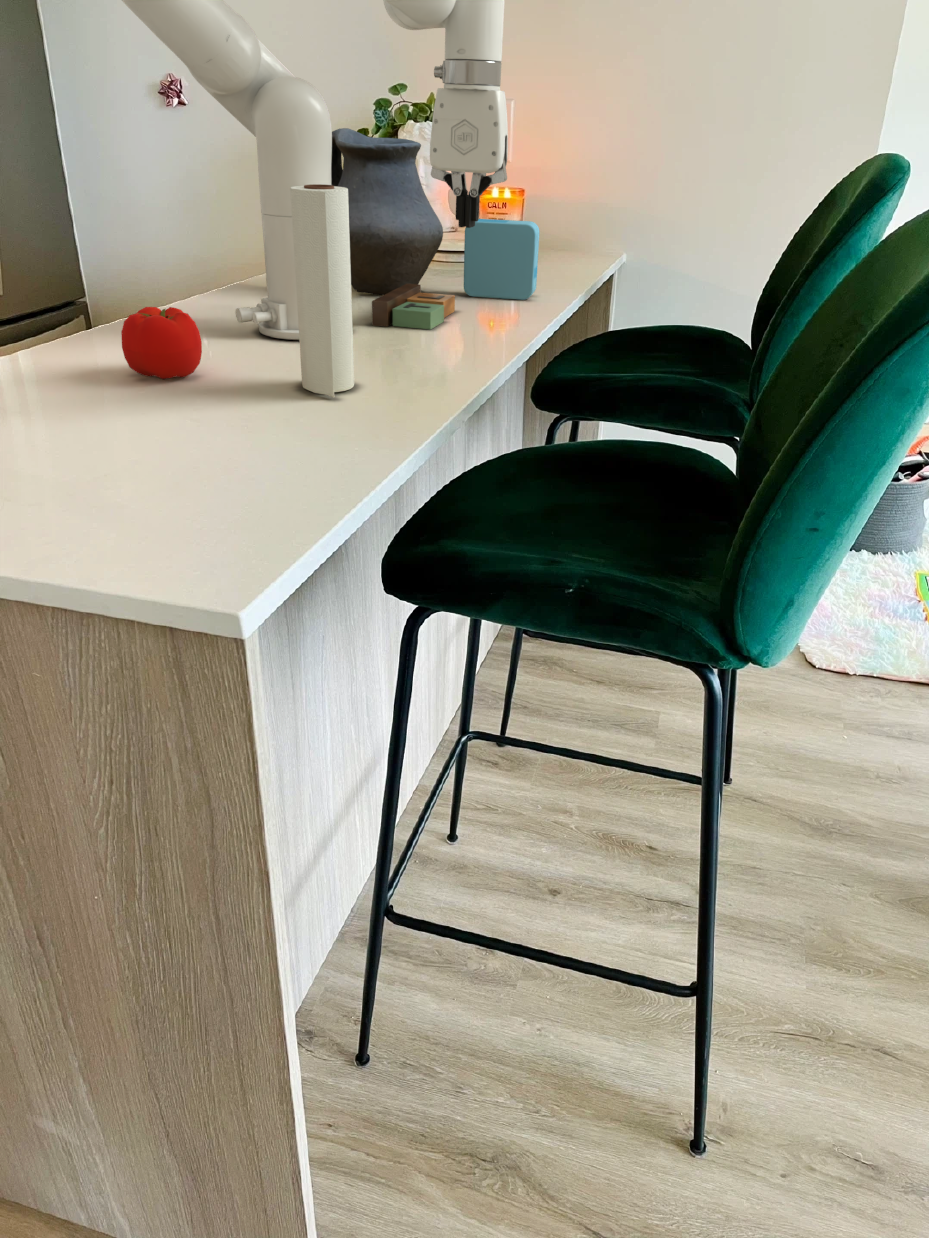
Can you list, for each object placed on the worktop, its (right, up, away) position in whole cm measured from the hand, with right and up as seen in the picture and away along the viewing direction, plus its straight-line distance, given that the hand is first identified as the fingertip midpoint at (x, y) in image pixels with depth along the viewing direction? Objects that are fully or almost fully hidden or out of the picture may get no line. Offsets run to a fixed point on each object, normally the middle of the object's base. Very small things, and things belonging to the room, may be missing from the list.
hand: (466, 226), depth 134 cm
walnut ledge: (-11, -9, +13) cm, 19 cm away
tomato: (-36, -27, -21) cm, 49 cm away
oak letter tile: (-6, -8, +15) cm, 18 cm away
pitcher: (-15, +2, +32) cm, 35 cm away
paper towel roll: (-16, -29, -24) cm, 41 cm away
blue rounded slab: (+6, 0, +29) cm, 30 cm away
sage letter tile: (-7, -11, +8) cm, 16 cm away
